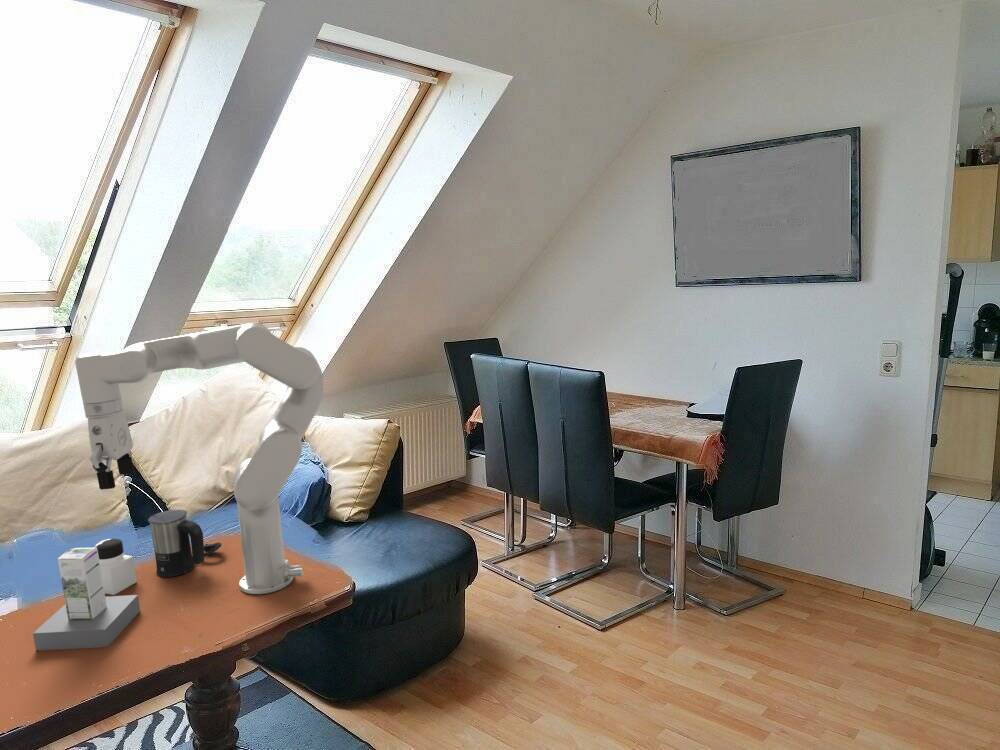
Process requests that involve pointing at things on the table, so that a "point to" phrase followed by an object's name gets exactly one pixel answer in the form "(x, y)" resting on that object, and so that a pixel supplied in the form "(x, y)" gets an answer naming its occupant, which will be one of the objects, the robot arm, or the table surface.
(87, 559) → the syrup box
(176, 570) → the milk frother
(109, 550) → the medicine bottle
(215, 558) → the table surface
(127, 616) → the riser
